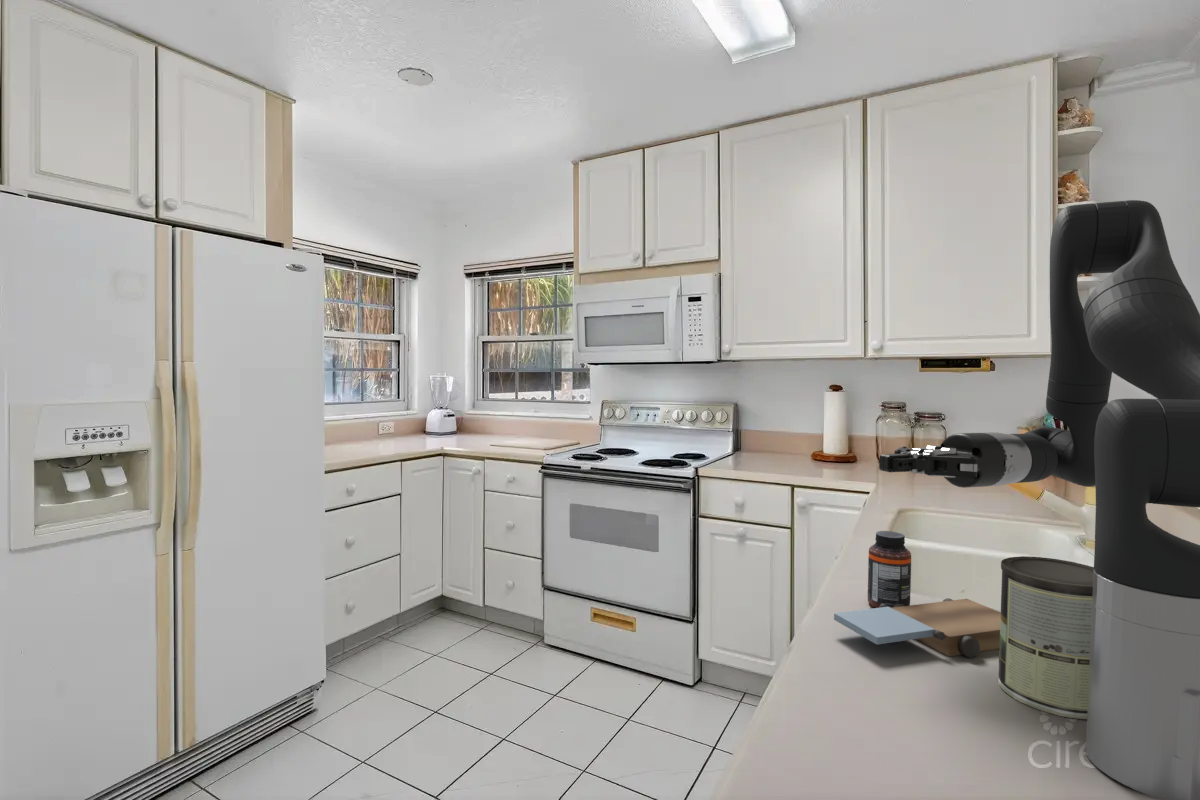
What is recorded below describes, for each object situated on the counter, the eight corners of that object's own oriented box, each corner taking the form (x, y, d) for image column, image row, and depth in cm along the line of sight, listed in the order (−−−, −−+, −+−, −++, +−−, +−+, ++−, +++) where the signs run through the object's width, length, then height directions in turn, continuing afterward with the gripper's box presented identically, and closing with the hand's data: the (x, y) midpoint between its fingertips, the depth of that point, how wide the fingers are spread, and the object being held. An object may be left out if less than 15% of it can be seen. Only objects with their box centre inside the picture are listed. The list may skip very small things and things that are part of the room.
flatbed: (1039, 647, 80) (1040, 624, 79) (948, 661, 75) (949, 637, 75) (959, 612, 91) (960, 592, 91) (876, 623, 87) (876, 602, 87)
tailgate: (934, 629, 78) (877, 637, 75) (934, 639, 78) (876, 647, 75) (888, 606, 85) (834, 613, 83) (887, 615, 85) (833, 622, 83)
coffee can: (978, 669, 73) (982, 553, 73) (1070, 675, 72) (1075, 557, 72) (1030, 717, 63) (1036, 582, 62) (1138, 724, 62) (1144, 587, 61)
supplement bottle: (873, 596, 98) (875, 526, 97) (914, 605, 94) (916, 533, 93) (862, 607, 93) (864, 533, 92) (904, 617, 89) (907, 540, 89)
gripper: (945, 428, 91) (849, 430, 86) (1030, 437, 79) (924, 440, 74) (943, 478, 92) (848, 483, 87) (1028, 494, 79) (922, 501, 74)
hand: (883, 463), depth 80 cm, fingers closed
